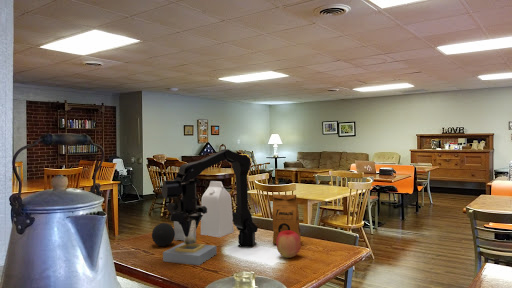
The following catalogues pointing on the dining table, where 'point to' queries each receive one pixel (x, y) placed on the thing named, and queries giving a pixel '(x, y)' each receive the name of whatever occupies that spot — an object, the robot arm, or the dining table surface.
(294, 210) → the coffee package
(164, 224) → the speaker
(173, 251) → the grey flat square piece
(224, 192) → the milk
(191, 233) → the spout can
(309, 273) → the dining table surface
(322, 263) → the dining table surface
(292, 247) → the apple
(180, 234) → the skincare box
